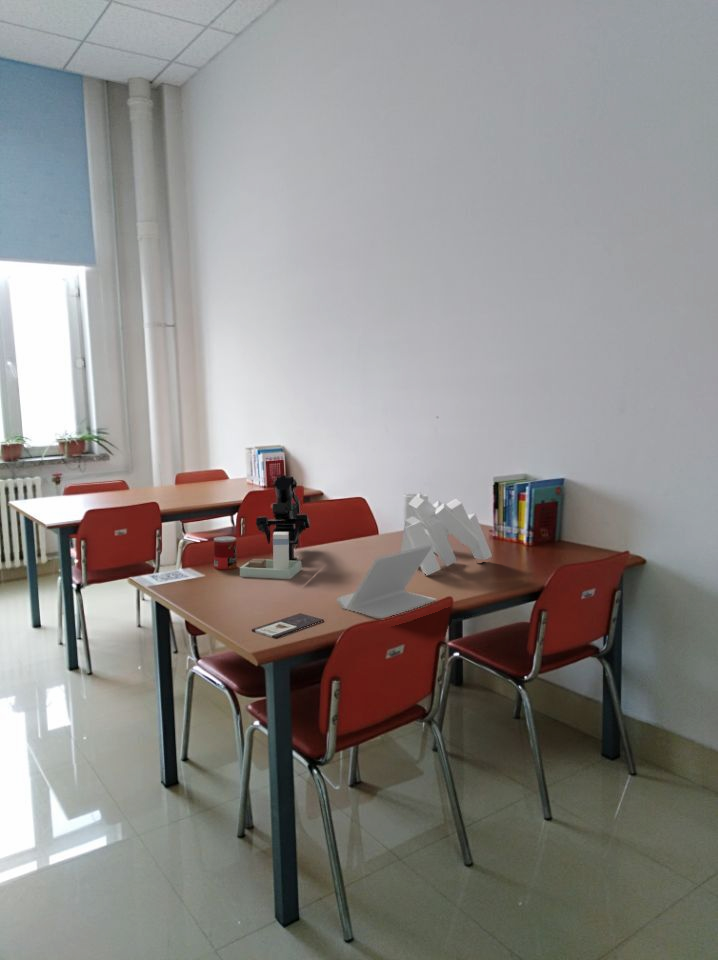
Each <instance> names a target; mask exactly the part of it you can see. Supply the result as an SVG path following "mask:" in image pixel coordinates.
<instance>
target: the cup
mask: <svg viewBox="0 0 718 960" xmlns="http://www.w3.org/2000/svg"><path fill="white" fill-rule="evenodd" d="M418 494H419V493H408V494H407V493H406V494H404V495H403V505H402V506H403V509H402V510H403V522H404V523H405V520H406V519H408V518H410V517H412V516H413V517H415V518H416V519H418V520H420V518H419V517H418V516H417V514H416V513H415V512H414V511H413V509H412V508H411V507H410V506H409V503H410V501H411V500H412V499H413V498H414V497H415V496H416V495H418ZM421 494H422V495H423V496H424V497H425V498H426V499H427V500H428V501H429V496H428V494H425V493H421ZM420 521H421V520H420ZM421 522H422V521H421ZM423 527H424V528H425V529H427V527H426V526H425V525H424V523H423Z"/></svg>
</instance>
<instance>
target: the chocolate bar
mask: <svg viewBox="0 0 718 960" xmlns="http://www.w3.org/2000/svg"><path fill="white" fill-rule="evenodd" d="M321 621H324V622H325V619H324V618H319V617H315V616H311V615H308V614H304V613H301V612H300V613H297V614H294V615H291V616H288V617H284V618H281V619H278V620H275V621H271V622H270V623H266V624H263V625H261V626H257V627H254V628H251V632H254V633H256V634H260V635H263V636H266V637H270V638H273V639H278V638H281V636H282V637H284V636H286V634H287V635H290V634H293V633H295V632H294V631H296V630H299V629H301V628H304V627H307V626H310V625H312V624H315V623H318V622H321ZM321 623H322V622H321ZM318 624H319V623H318ZM310 627H311V626H310ZM307 628H308V627H307ZM304 629H305V628H304ZM301 630H302V629H301ZM299 631H300V630H299ZM292 632H293V633H292ZM296 632H297V631H296ZM289 633H290V634H289ZM283 635H284V636H283Z"/></svg>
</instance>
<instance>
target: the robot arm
mask: <svg viewBox="0 0 718 960" xmlns="http://www.w3.org/2000/svg"><path fill="white" fill-rule="evenodd" d="M294 478H295V477H294V476H286V474H284V475H283V474H282V475H280V476H276V479H274V482H273V490H275V495H276V501H275V502H276V503H272V514H273V516H272V517H273V518H275V519H269V518H268V516H267V515H266V516H265V515H264V516H257V518H256V519H255V525H256V527H257V529H258V531H259V532H262V533H264V535H265V537H266V541H267V544H268V545H271V544H270V543H271V530H270V528H271V526H274V528H273V530H272V531H273V533H274V532H289V561H297V560H298V557H295V550H294V549H295V547H294V546H295V545H299V537H300V535H301V534H302V533H303V531H306V529H309V528H310V526H311V523H310V519H309V518H310V517H309V515H308V514H307V513H301V510H300V508H301V506H300V499H299V497H298V496H297V495H296V492H295V491H296V488H297V487H298V482H297V481H296V479H294ZM293 500H294V502H293ZM273 533H272V534H273Z"/></svg>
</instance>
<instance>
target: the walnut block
mask: <svg viewBox="0 0 718 960" xmlns="http://www.w3.org/2000/svg"><path fill="white" fill-rule="evenodd" d="M252 559H253V560H252ZM252 559H251V560H249V561H250V562H249V561H248V562H249V568H266V559H267V558H265V559H264V558H252Z"/></svg>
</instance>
